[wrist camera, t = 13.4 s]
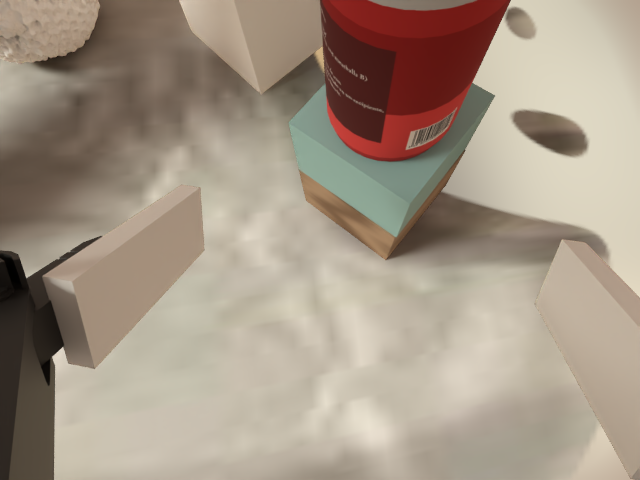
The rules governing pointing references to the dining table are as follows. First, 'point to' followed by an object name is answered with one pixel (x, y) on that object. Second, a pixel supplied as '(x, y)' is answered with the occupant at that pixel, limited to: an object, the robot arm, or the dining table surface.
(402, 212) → the teal block
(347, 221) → the walnut block
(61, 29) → the cauliflower
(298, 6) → the milk
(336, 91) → the canned food
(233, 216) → the dining table surface
